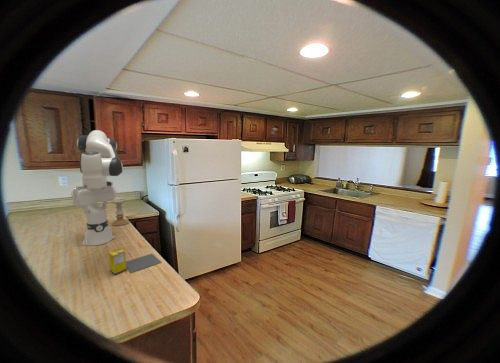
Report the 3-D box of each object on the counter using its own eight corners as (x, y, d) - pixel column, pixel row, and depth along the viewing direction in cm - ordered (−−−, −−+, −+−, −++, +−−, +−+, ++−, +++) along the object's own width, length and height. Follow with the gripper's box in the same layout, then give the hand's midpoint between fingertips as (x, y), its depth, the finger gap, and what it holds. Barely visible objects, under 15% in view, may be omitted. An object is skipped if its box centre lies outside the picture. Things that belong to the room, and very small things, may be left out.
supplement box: (122, 266, 122) (120, 247, 121) (126, 270, 119) (125, 251, 117) (110, 271, 118) (108, 251, 116) (114, 275, 114) (112, 255, 112)
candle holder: (114, 222, 192) (112, 199, 189) (130, 220, 196) (128, 198, 193) (110, 227, 181) (107, 203, 178) (127, 225, 185) (125, 201, 181)
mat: (123, 263, 126) (123, 262, 126) (152, 253, 137) (152, 253, 137) (130, 273, 116) (130, 272, 116) (161, 262, 127) (161, 262, 127)
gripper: (78, 187, 101) (81, 217, 102) (115, 181, 120) (117, 207, 122) (67, 187, 102) (70, 216, 104) (105, 181, 122) (107, 206, 123)
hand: (96, 211), depth 113 cm, fingers open, 8 cm apart
